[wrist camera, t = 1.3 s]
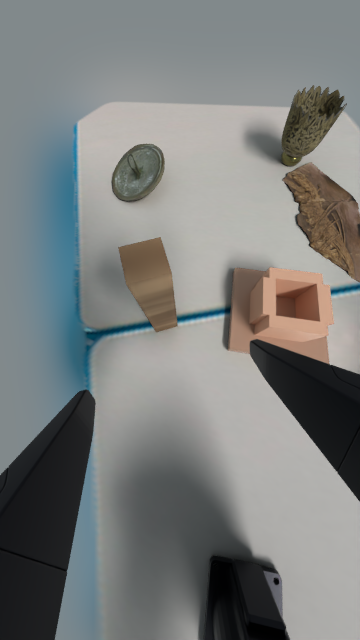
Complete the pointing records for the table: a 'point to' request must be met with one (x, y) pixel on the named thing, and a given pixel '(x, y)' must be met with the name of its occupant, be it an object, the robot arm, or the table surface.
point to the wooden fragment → (327, 217)
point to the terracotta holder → (280, 311)
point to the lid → (138, 172)
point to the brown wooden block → (150, 281)
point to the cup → (309, 122)
